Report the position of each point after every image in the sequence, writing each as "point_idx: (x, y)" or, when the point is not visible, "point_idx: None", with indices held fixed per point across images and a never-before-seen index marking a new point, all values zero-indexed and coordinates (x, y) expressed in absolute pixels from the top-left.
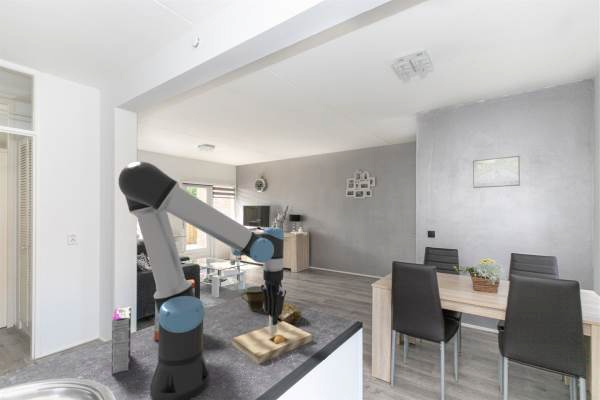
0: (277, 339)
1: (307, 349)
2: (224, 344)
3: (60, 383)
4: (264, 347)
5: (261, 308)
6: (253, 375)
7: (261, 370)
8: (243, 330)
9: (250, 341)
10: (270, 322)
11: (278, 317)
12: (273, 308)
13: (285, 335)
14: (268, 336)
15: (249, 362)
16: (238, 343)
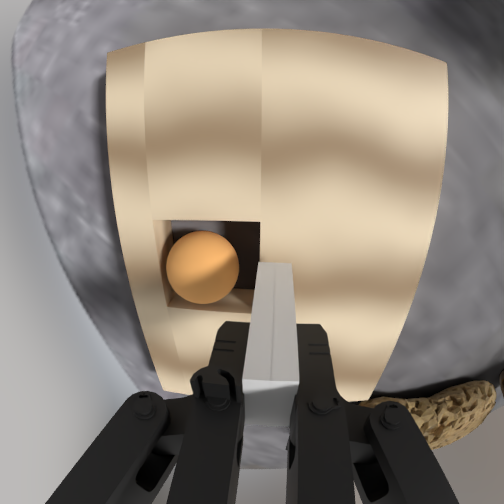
0: (182, 254)
1: (120, 317)
2: (453, 53)
3: None
4: (168, 128)
5: (501, 379)
6: (82, 17)
7: (84, 55)
8: (495, 233)
9: (322, 101)
10: (261, 323)
11: (416, 399)
12: (174, 482)
13: None
14: (292, 251)
15: (174, 26)
16: (368, 41)
